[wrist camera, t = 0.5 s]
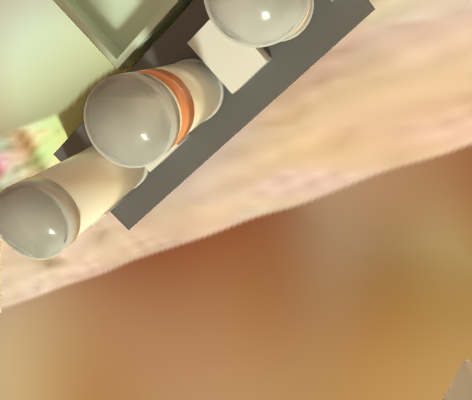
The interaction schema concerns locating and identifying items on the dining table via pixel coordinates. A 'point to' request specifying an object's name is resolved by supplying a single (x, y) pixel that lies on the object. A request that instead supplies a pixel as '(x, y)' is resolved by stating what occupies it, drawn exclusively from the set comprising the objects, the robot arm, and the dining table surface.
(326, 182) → the dining table surface
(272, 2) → the fuse near
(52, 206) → the cylinder
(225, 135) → the block
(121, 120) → the marked fuse
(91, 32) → the tray
